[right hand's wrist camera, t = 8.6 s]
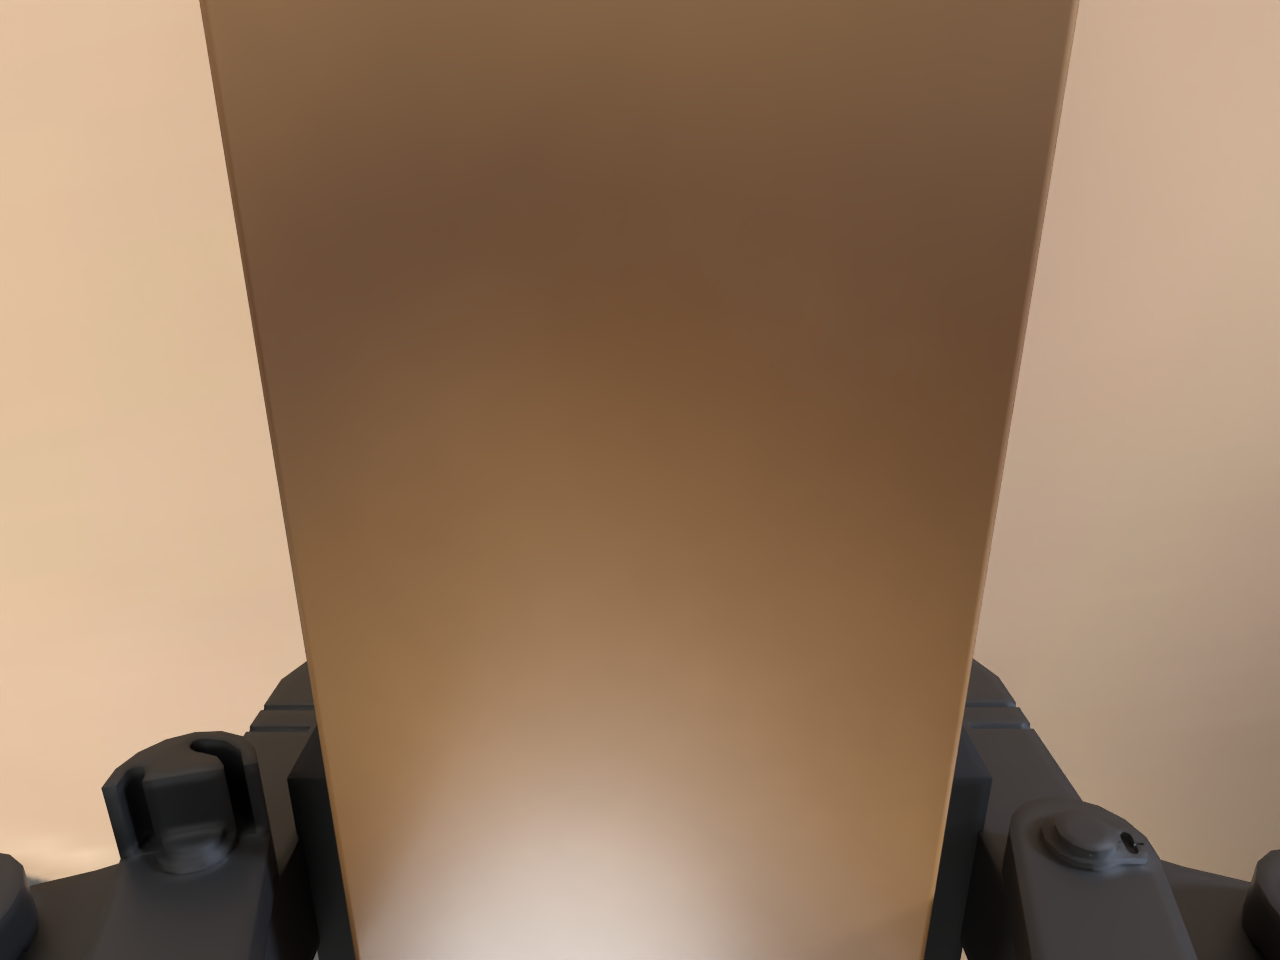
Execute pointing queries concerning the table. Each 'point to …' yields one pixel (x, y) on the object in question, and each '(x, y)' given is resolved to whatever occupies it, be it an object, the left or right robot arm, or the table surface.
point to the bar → (639, 445)
